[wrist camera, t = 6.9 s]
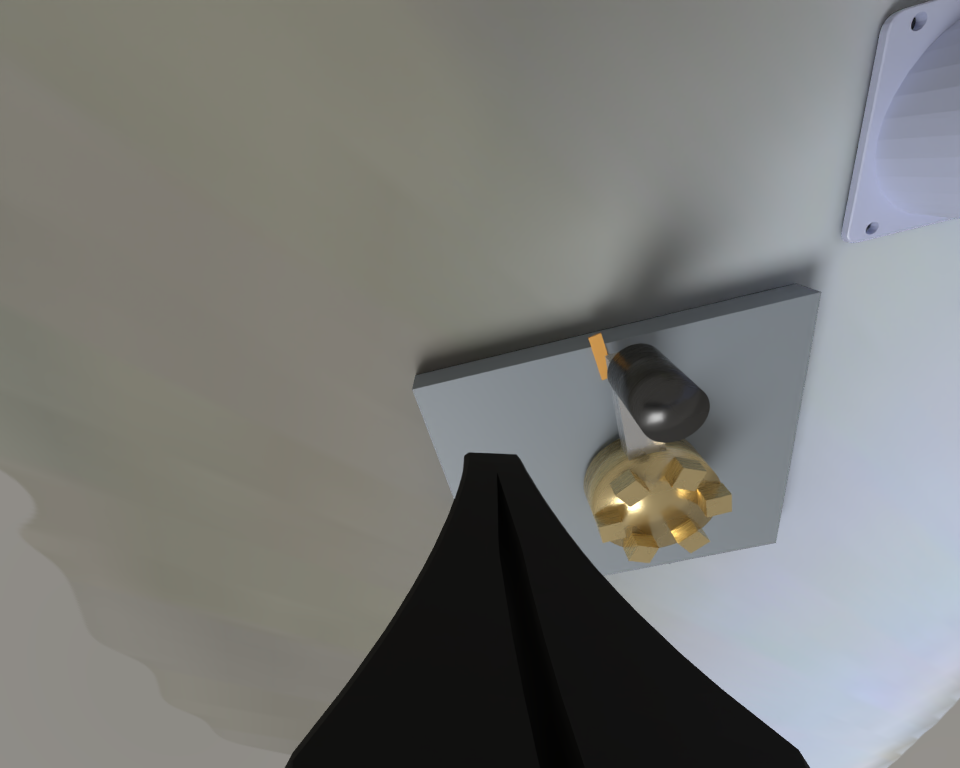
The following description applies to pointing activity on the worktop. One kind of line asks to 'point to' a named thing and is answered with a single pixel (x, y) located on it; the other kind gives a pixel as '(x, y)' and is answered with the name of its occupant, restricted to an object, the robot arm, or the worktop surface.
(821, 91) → the worktop surface
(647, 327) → the grey board
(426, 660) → the robot arm
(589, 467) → the spiked mace toy
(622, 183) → the worktop surface
